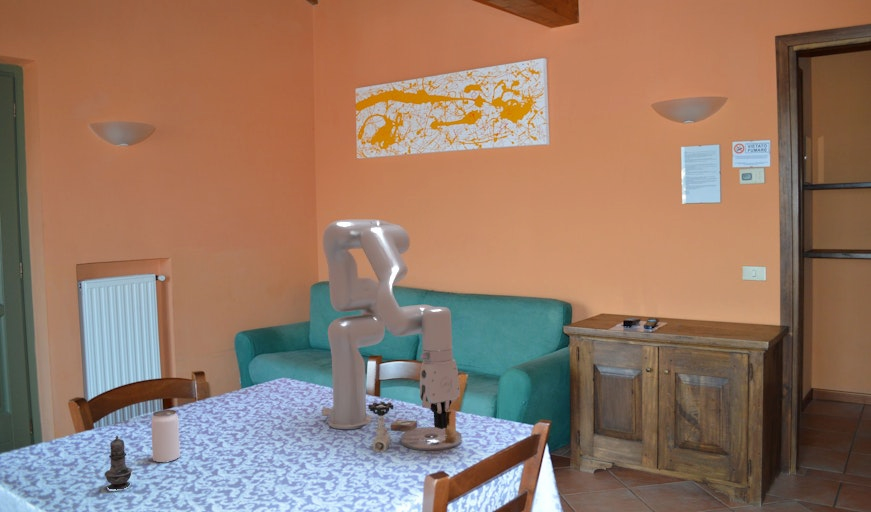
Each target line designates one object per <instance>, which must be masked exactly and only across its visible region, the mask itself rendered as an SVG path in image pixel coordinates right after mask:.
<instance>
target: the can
mask: <svg viewBox="0 0 871 512" xmlns="http://www.w3.org/2000/svg"><path fill="white" fill-rule="evenodd" d="M150 420H151V424H150V425H151V449H152V450H151V451H152V460H153V462H155V461H157V462H167V461H172V460H175V459H177V458H178V459H179V458H180V456H181V455H180V454H181V453H180V451H181V450H180V428H179V427H180V425H179V421H180V420H179V416H178V414H177V410H175V409H162V410H157V411H154V412H153V413H152V417H151V419H150ZM178 459H177V460H178ZM175 461H176V460H175ZM157 462H156V463H157ZM172 462H173V461H172ZM167 463H168V462H167Z"/></svg>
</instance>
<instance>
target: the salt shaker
mask: <svg viewBox="0 0 871 512" xmlns="http://www.w3.org/2000/svg"><path fill="white" fill-rule="evenodd" d="M109 446H110V454H109V456H108V458H109V459H110V468H109V470H106V471H105V472H104V476H105V478H106V481H107V482H108V483H109V485H108V486H107V487H108V488H109V489H116V490H117V489H124V488H126V487H128V486H129V485H130V483H131V482H130V481H129V480H130V478H131V475H132V473H133V468H132V467H127V464H126V456H127V453H126V452H125V441H124V440H123V439H121V438H119V436H118V435H115V438H114V439H113V440H112V441H111V442H110V444H109Z"/></svg>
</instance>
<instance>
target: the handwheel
mask: <svg viewBox="0 0 871 512" xmlns="http://www.w3.org/2000/svg"><path fill="white" fill-rule="evenodd" d="M456 414H457V413H456V410H455V409H450V408H449V410H448V412H447V428H444V429H440V428H436V427H435V426H427V427H419V428H418V427H416V428H415V429H412V430H409V431H407V432H406V431H404V432H402V434H401V437H400V439H401V440H400V441H401V444H402V445H403V446H404V447H405V448H407V449H410V450H415V451H422V452H437V451H445V450H450V449H452V448H456V447H457V446H459V445H460V444H462V433H461V432H460V431H458V430H457V420H456V417H457V416H456Z"/></svg>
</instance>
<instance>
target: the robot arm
mask: <svg viewBox="0 0 871 512" xmlns="http://www.w3.org/2000/svg"><path fill="white" fill-rule="evenodd" d="M410 244H411V241H410V235H409V233H408V231H407V230H406V229H405V228H404V227H402V226H401V225H399V224H395V223H391V222H388V221H385V220H380V219H376V218H375V219H373V218H372V219H371V218H364V219H363V218H362V219H360V218H359V219H356V218H355V219H354V218H353V219H341V220H340V219H339V220H335V221H333V222H331V223H329V224H328V225H326V228H325V229H324V231H323V235H322V248H323V253H324V256H325V259H326V263H327V269H328V270H327V271H328V272H327V273H328V274H327V275H328V283H329V297H330V299H329V300H330V303H331V306H332V308H333V309H334V311H335V312H336V311H337V312H339V313H340V312H341V313H349V312H356V311H360V313H361V314H356V315H355V314H354V315H347V316H342V317H338V318H336V319H333V321H331V322H330V324H329V326H328V328H327V338H328V343H329V344H328V345H329V348H330V355H331V366H332V367H331V370H332V374H331V375H332V404H333V405H332V407H331V408H330V407H322V409H321V415H322V416H323V417H327V416H328V417H329V419H328V425H329V427H330V428H333V429H338V430H354V429H360V428H361V429H362V428H363V427H365V426H366V425H368V424H370V423H371V422H372V421H373V419H372V417H371V416H369V415H367V402H366V401H367V398H366V392H367V391H366V364H365V363H366V362H365V359H364V357H363V356H362V354H361V352H360V351H359V349H361V348H365V347H371V346H374V345H378V344H380V343H381V342H382V341H383V339H384V337H385V335H386V333H385V332H386V329H387V331H388V332H389V333H390V335H392V336H394V337H398V338H399V337H407V336H414V335H420V334H421V337H422V339H421V341H422V342H421V344H422V353H421V354H420V355H419V357H420V359H421V360H423V361H422V362H421V365H420V371H419V372H420V373H419V397H420V401H422V402H421V407H422V408H425V409H430V411H431V413H433V424H434V425H433V427H436V428H440V429H444V428H447V412H448V410H449V409H450V406H451V404H453V403H454V402H455V403H456V401H457V398H459V397H460V395H461V388H460V387H461V386H460V378H459V371H458V365H457V362H456V360H455V359H454V357H453V336H452V335H453V334H452V332H453V331H452V313H451V310H450V309H449V308H448V307H445V306H434V305H429V304H416V305H406V306H399V303H398V302H397V300H396V297H395V296H394V291H393V288H394V286H395V285H398V283H400V282H401V281H402V280H404V278H405V277H406V276H407V275H408V272H409V271H408V265H407V264H406V262H405V261H404V258H403V256H402V255H403V254H405V253H406V252H407V251H408V250H409V247H410ZM355 249H356V250H357V249H362V250H363V252H364V255H365V256H366V259H367V260H368V262H369V265H370V266H371V268H372V271H373V272H374V274H375V276H376V278H377V280H378V282H377V280H376V279H374V278H372V277H359V273H358V272H359V270H358V263H357V261H356V259H355V257H354V255H353V254H352V252H350V251H349V250H355Z"/></svg>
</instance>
